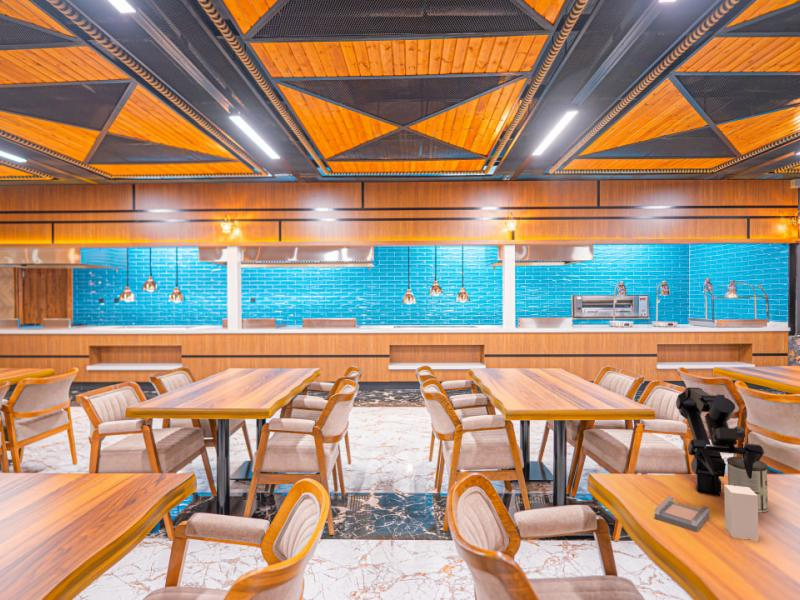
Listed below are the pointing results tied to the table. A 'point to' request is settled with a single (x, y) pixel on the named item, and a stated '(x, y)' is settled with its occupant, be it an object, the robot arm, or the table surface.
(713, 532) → the table surface
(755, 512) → the cream block
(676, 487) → the table surface
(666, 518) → the display base
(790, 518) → the table surface
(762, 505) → the coffee can
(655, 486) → the table surface
